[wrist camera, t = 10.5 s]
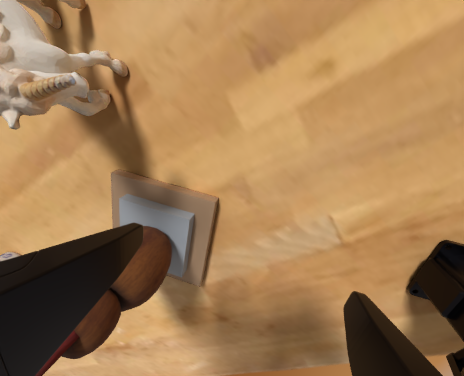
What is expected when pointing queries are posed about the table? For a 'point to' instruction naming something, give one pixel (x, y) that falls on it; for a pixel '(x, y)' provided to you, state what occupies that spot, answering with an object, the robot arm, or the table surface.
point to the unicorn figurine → (44, 66)
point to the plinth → (168, 219)
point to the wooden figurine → (120, 297)
